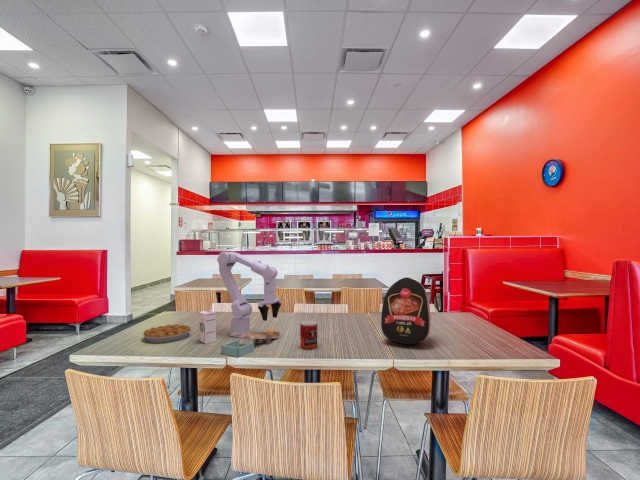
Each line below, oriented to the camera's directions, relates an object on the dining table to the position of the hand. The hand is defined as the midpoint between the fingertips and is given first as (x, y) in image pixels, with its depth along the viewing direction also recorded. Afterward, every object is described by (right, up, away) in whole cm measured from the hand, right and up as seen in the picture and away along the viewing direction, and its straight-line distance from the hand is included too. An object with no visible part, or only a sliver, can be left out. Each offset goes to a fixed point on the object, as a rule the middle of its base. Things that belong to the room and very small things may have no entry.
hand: (269, 318), depth 160 cm
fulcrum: (-2, -9, -8) cm, 12 cm away
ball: (+1, -6, -2) cm, 6 cm away
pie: (-52, -10, +3) cm, 53 cm away
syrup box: (-29, -10, -5) cm, 31 cm away
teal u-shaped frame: (-10, -9, -21) cm, 25 cm away
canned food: (+20, -9, -15) cm, 27 cm away
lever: (-6, -7, -5) cm, 11 cm away
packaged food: (+65, -9, -10) cm, 67 cm away
